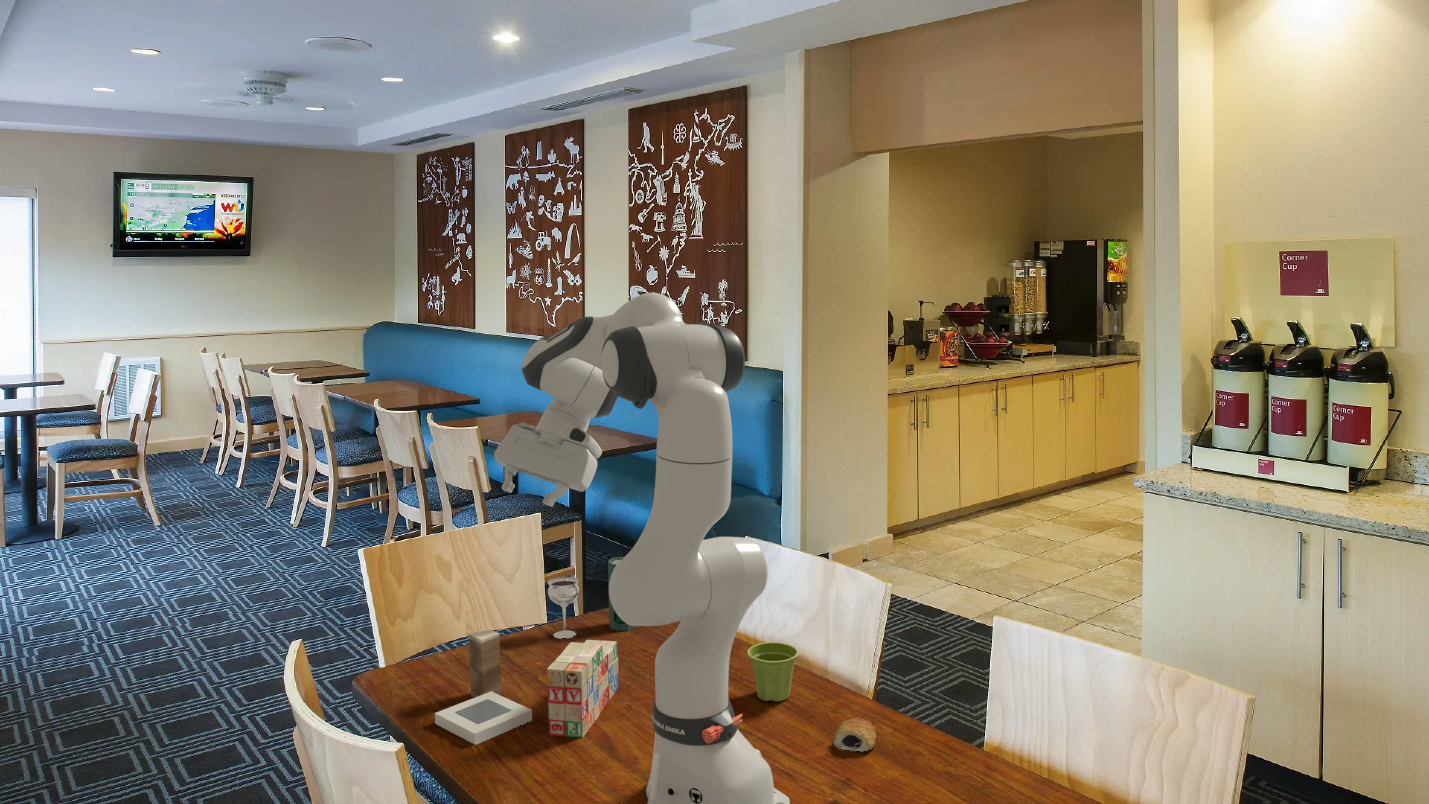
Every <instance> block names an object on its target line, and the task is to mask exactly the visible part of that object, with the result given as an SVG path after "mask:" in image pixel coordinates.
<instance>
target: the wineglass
mask: <svg viewBox="0 0 1429 804" xmlns="http://www.w3.org/2000/svg"><path fill="white" fill-rule="evenodd" d="M579 582H580V581H579V579H578V578H576V577H573V576H560V577H554V578H551V579H549V580H548V581H547V584H548V585H549V586H548V588H547V594H548V597H549V599H550V601H552V602H553V603H555V604H556V605H559V606H560V607H561V609H562V611H561V612H562V622H563V630H559V631H556V632H554V633H553V637H554V638H556V639H561V640H563V639H562V638H567V639H570V638H573V636H574V635H575V636H576V635H577V633H575V632H576V631H574V630H569V629H568V630H567V629H566V627H567V623H566V621H567V619H566V618H567V613H566V612H567V607H568V605H569V604H572V603H574V601H576V599H578V598H579V597H578V596H579V594H580V587H579V585H578V584H579ZM575 636H574V637H575Z"/></svg>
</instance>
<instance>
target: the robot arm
mask: <svg viewBox="0 0 1429 804" xmlns="http://www.w3.org/2000/svg"><path fill="white" fill-rule="evenodd" d="M745 367H746V355H745V350H744V346H743V343H742V342H741V340H740V338H739V337H738V336H737V335H736V333H735V332H733V331H732V330H731V329H729V328H726V327H723V326H719V325H716V324H711V323H708V322H705V321H700V322H699V323H698V324H695V323H693V324H690V323H689V324H688V323H685V322H684V320H683V316H682V312H681V311H680V308H679V307H678V305H677V304H676V303H675V301H673V300H672V299H671V298H670V297H669V296H666V295H664V294H662V293H659V292H658V293H657V292H647V293H646V292H645V293H642V294H640V295H638V296H635V297H633V298H632V299H630V300H627V302H626V303H624V304H623V305H622V306H620V307H619V308H618V309H617V310H616V311H615V312H614V313H613V314H610V315H603V316H582V317H580V318H578V319H576V320H573V321H572V322H570V323H569V324H567V325H565V326H564V327H562V328H560V329H559V330H557V331H556V332H553V333H552V334H551V335H550V334H549V335H546V336H542V337H540V338H539V339H538V340H537V341H536V342H534V343H533V344H532V345H531V346H530V347H529V349H528V351H526V354H525V356H524V358H523V361H522V365H521V373H522V374H523V378H524V380H525V382H526V385H528V386H530V387H531V388H535V389H537V390H539V391H543V392H544V393H546V394H548V395H549V396H551V397H553V399H552V401H551V402H550V403H549V404H548V406H546V408H545V410H544V412H543V414H542V416H541V418H540V420H539V421H538V423H537V425H533V424H528V423H527V422H523V421H521V422H519V423H516V424H513V425H511V427H510V428H509V430H508V432H507V434H506V435H505V436H504V438H503V439H502V440H501V441H500V444H499V445H498V446H497V447H496V450H495V451H494V453H493V455H494V460H495V461H496V463H497V464H499V465H500V466H501V467H503V468H504V481H503V484H502V485H501V489H502V490H503V492H506V493H509V494H511V493H512V492H513V491H514V489H515V488H516V487H515V486H516V485H515V483H513V477H514V476H516V475H517V473H518V472H520V473H522V474H525V475H528V476H531V477H533V478H534V477H535V478H538V479H541V480H544V481H547V482H550V483H553V484H555V486H556V488H555V489H554V490H553V491H552V492H550V493H546V494H544V497H543V499H542V503H543V504H544V505H546V506H548V507H551V508H552V507H553V506H555V503H556V502H557V500H558V499H559V498H561V497H562V496H563V495H565V494H566V493H567V492H568V490H569V489H571V490H575V491H577V492H581V493H582V492H584V491H586V490H588V488H589V487H590V485H591V483H592V482H593V479H594V477H595V475H596V471H597V469H598V459H599V458H600V457H601V456H602V454H603V449H602V448H601V446H600V445H599V444H598V442H597V441H596V440H595V438H593V437H592V436H591V435H590V434H589V433H587V431H588V429H589V426H590V425H589V424H590V422H591V419H592V418H593V419H599V418H602V417H606V416H609V415H610V414H611V412H612V411H613V408H614V406H615V404H616V402H617V399H618V398H622V399H624V400H626V401H628V402H631V403H632V404H633V406H634V407H635V408H637V409H639V410H641V409H643V408H644V407H645V406H646V404H647V403H648V401H650V402H651V403H652V405H653V406H654V407H655V409H656V413H657V417H658V419H657V420H658V429H657V437H656V438H657V439H656V455H655V456H656V457H655V458H656V465H655V482H654V485H655V486H654V493H653V494H654V495H653V502H652V506H651V511H650V513H649V517H648V520H647V523H646V525H645V526H644V528H643V530H642V532H641V534H640V536H639V538H638V539H637V541H636V542H635V544H634V546H633V547H632V548H631V550H630V551H628V553H627V554H626V555H625V556H623V557H624V558H623V559H622V560H621V561H620V562H619V563H618V564H617V565H616V566H615V568H614V570H613V572H612V574H611V577H610V582H609V585H608V598H609V597H610V601H611V604H612V606H613V608H614V610H615V612H616V613H617V615H618V616H619V617H620V618H621V619H622V620H623V621H624V622H625V623H627V624H628V625H631V626H637V627H653V626H654V627H659V626H664V625H668V624H673V623H677V622H679V624H678V626H677V627H676V629H675V630H674V632H673V633H672V634H671V635H670V636H669V637H668V638H667V639H666V640H665V641H664V642H663V643H662V644H661V646H660V647H659V648H658V650H657V653H656V655H655V660H654V682H655V683H654V685H655V686H654V687H655V689H654V690H655V691H654V692H655V700H653V703H652V704H653V705H652V714H651V719H652V728H653V730H654V732H655V733H654V734H655V735H654V744H653V753H652V761H651V768H650V769H651V770H650V775H649V778H648V782H647V786H646V789H645V793H646V797H647V799H648V800H647V804H791V801H790V798H789V796H787V795H786V794H785V793H783V792H781V791H779V789H777V788H775V787H774V786H775V785H774V777H773V773H772V769H771V767H770V764H769V763H768V762H767V761H766V760H765V758H763V756H762V752H761V751H760V750H759V749H758V748H755V747H754V746H753V745H752V744H751V742H749V741H748V739H747V738H746V737H745V735H743V734H742V733H741V731H740V730H739V725H738V724H739V723H741V722H742V721H744V720H743V719H741V718H742V717H743V713H740V714H738V715H736V716H735V712H734V709H733V705H732V703H731V701H730V699H729V676H730V673H729V672H730V670H729V669H730V657H731V651H732V648H733V643H734V640H735V638H736V635H737V632H738V629H739V627H740V625H741V622H742V621H743V618H744V617H745V615H746V614H747V612H748V610H749V609H750V607H751V605H753V603H754V602H755V601H756V600H757V599H758V598H759V597H760V596H761V595H762V594H763V592H764V591H765V588H766V585H767V581H768V577H769V568H768V567H769V566H768V562H767V558H766V555H765V554H764V552H763V550H762V549H761V548H760V546H759V545H758V544H757V543H756V542H755V541H754V540H752V539H751V538H747V537H740V536H716V537H711V538H707V539H704V538H705V537H706V535H707V534H708V532H709V531H710V529H711V528H712V527H713V526H714V525H715V524H716V523H718V521H719V520H721V518H723V517H724V516H725V514H726V513H727V511H728V509H729V507H730V505H731V497H732V476H733V475H732V473H733V427H732V416H731V408H730V404H729V396H728V394H727V392H730V391H733V390H734V389H735V388H737V387H738V385H739V384H740V382H741V380H742V378H743V375H744V372H745Z"/></svg>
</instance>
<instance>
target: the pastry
mask: <svg viewBox="0 0 1429 804" xmlns="http://www.w3.org/2000/svg"><path fill="white" fill-rule="evenodd" d="M876 733H877V731H876V729H875V727H874V725H873V723H872V722H871V721H870V720H866V718H865V719H864V718H861V717H858V716H857V717H853V718H851V719H850V718H849V719H847V720H844V721H843V722H841V723H840V724H839V726H838V727H837V728H836V729H835V732H834V740H833V741H832V742H833V745H834V747H835V748H836V747H837V748H841V749H843V750H850V751H849V752H856V751H860V752H859V753H865V752H864V751H867V752H869V751H868V750H870V749H871V750H872V748H873V749H874V747H875V745H876V740H877V739H876V738H877V734H876ZM837 748H836V749H837ZM843 750H842V751H843ZM871 750H870V751H871Z"/></svg>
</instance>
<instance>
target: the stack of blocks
mask: <svg viewBox="0 0 1429 804" xmlns="http://www.w3.org/2000/svg"><path fill="white" fill-rule="evenodd" d="M546 676H547V677H546V678H547V687H546V688H547V689H546V690H547V703H548V704H547V707H548V735H549V736H560V737H570V738H579V737H583V738H584V737H585V735H586V734H587V733H586V732H588V731H590V729H591V728H592V727H593V725H594V723H595V722H596V721H597V719H598V718H599V717H600V714H601V712H602V711H603V710H604V708H605V706H606V705H607V704H608V702H609V701H610V700H612V699H611V698H612V697H613V696H614V694H615V693H616V691H617V690H618V688H619V685H620V684H619V657H618V641H615V640H613V641H612V640H595V639H585V641H584V642H574V641H572V642H569V644H568V645H567V646H566V647H565V649H564V650H563V651H562V652H561V653H560V655H558V657H557V658H555V660H554V661H553V662H552V663H550V665H549V666H548V667H547V669H546ZM595 720H596V721H595Z"/></svg>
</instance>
